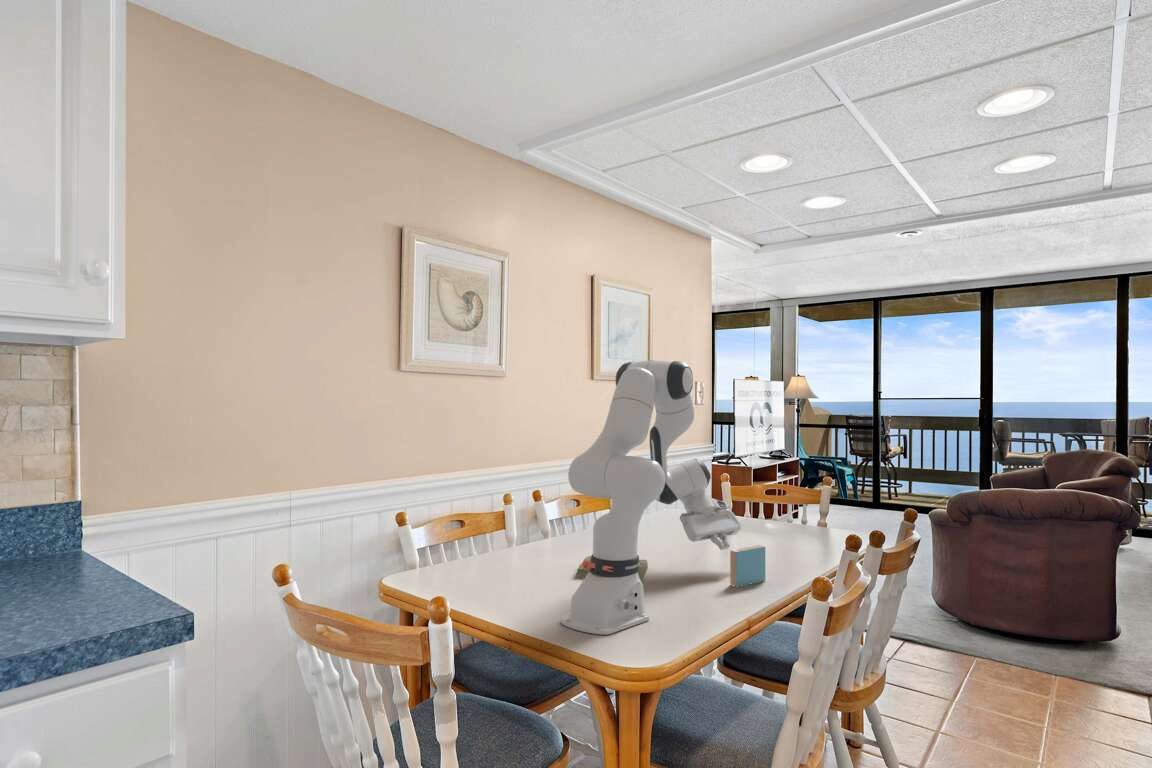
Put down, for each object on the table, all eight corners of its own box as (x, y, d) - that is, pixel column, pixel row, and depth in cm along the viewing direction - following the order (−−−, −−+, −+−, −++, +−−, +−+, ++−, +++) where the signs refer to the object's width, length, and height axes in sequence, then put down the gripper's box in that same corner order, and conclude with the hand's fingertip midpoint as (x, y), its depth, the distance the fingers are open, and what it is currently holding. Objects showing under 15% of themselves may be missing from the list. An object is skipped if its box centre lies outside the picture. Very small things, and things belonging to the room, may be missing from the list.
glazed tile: (736, 587, 179) (736, 551, 179) (730, 585, 181) (730, 550, 181) (765, 581, 186) (765, 546, 186) (758, 579, 188) (758, 545, 188)
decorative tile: (585, 565, 204) (585, 554, 204) (648, 569, 200) (648, 557, 200) (573, 581, 186) (573, 569, 186) (641, 585, 182) (641, 573, 182)
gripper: (682, 507, 192) (705, 546, 184) (730, 501, 203) (754, 538, 195) (672, 520, 196) (694, 558, 187) (719, 513, 207) (742, 549, 198)
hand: (725, 548), depth 191 cm, fingers closed
